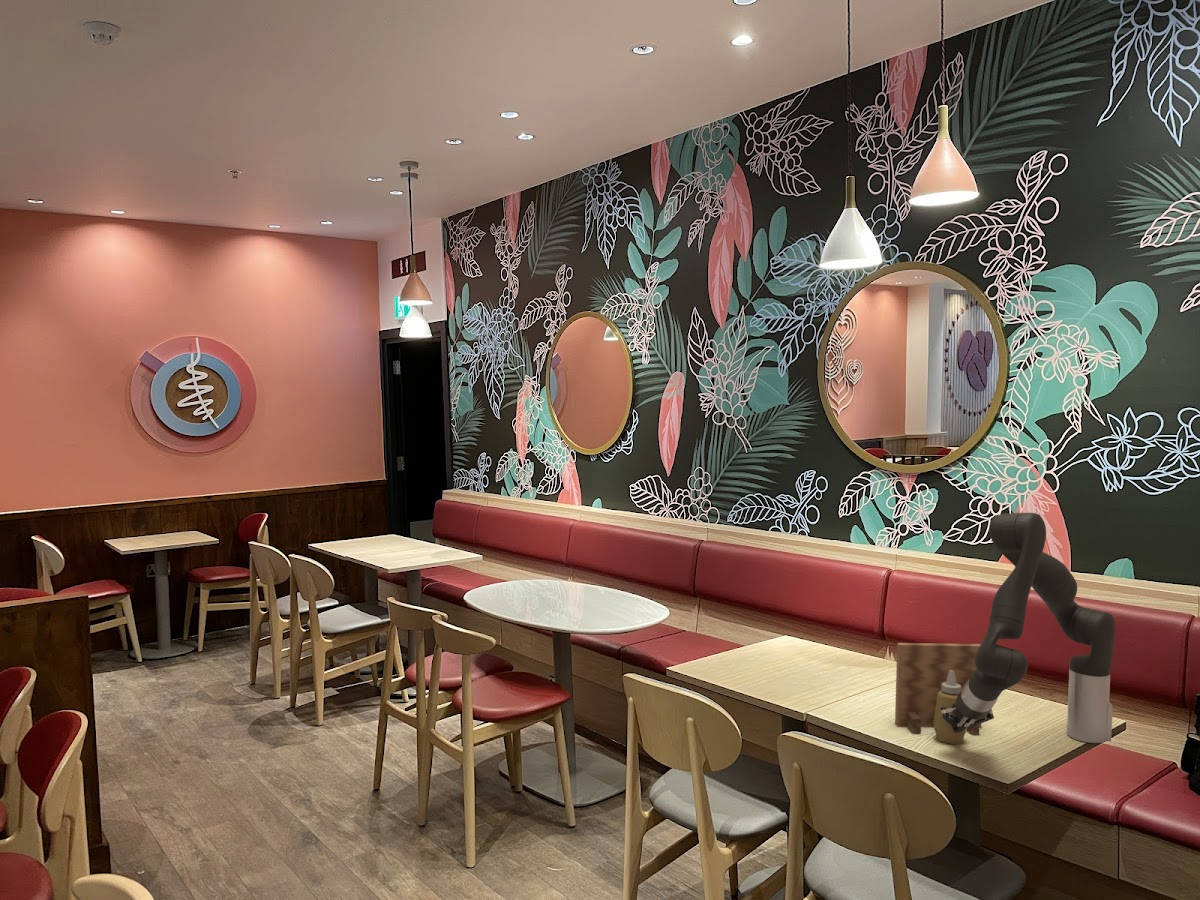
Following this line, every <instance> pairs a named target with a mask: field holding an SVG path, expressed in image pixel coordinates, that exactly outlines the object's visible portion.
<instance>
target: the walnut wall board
mask: <svg viewBox="0 0 1200 900" xmlns="http://www.w3.org/2000/svg"><path fill="white" fill-rule="evenodd" d="M896 644H897V645H896V671H895V673H896V675H895V676H896V679H895V707H894V708H895V710H894V711H895V712H894V714H895V715H894V725H895V726H896V727H899V728H905V727H906V728H907V729H908V731H910V732H911V734H912V735H921V732H922V728H934V726H933V722H934V715H935V708H936V701H937V694H938V692H939V691H941V686H942V683H944V682H946V681H947V677H948V674H949V670H953V671H954V672H955V678H956V683H957V684H959V685H961V690H962V688H963V687H964V685H965V683H966V682H967V681H968V680H969V679H970V678H971V676H972V675H973V673H974V671H975V670H976V669H977V668H976V665H975V655H976V653H977V651H978V649H979V647H980V645H981V644H980V643H938V642H937V643H936V642H935V643H929V642H927V643H925V642H920V643H919V642H915V643H914V642H910V643H909V642H897V643H896ZM976 721H977V720H976ZM980 729H982V723H981V724H978V725H976V726H972V724H970V725H969V726H968V727H967V730H966V732H968V734H969V735H971V736H980Z"/></svg>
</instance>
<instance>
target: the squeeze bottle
mask: <svg viewBox="0 0 1200 900" xmlns="http://www.w3.org/2000/svg"><path fill="white" fill-rule="evenodd" d="M960 691H961V685H959V684H957V683H956V678H955V672H954V671H953V670H949V674H948V677H947V681H946V682H944V683H942V686H941V691H939V692H938V694H937V701H936V708H935V715H934V722H933V726H934V727H933V728H934V733H935V734H936V738H937V740H939V741H940V742H942V743H946V744H951V745H953V744H955V745H956V744H957V745H958V744H960V743H962V742H963V739H964V738H965V734H966V733H967V727H966V728H965V730H963V731H962V732H955V731H954V730H953V728H952V725H950V724H949V723H948V722H947V721H946V720H945V719H944V718H943V717H942V713H941V709H940V708H941V707H945V708H951V706H952V705H953V704H955V703H956V699H957V696H958V694H959V693H960ZM952 714H953V713H952ZM953 716H955V715H954V714H953Z"/></svg>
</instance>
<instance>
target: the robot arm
mask: <svg viewBox="0 0 1200 900" xmlns="http://www.w3.org/2000/svg"><path fill="white" fill-rule="evenodd" d="M988 527H989V528H988V529H989V530H988V532H989V536H990V540H991V542H992V543H993V545H994V546H995V548H996V549H997V551H998V552H1000V553H1001V554H1002V555H1003V556H1004V557H1005V559H1007V560H1008V561H1009V562H1010V563H1011V564H1012V565H1014V568H1013V570H1012V572H1011V573H1010V574H1009V575H1008V577H1007V578H1006V579H1005V580H1004V581H1003V582H1002V584H1001V585H1000V587H999V588H998V589H997V591H996V593H995V594H994V597H993V599H992V600H993V601H992V604H991V605H992V606H991V610H990V616H989V617H990V618H989V622H988V623H989V624H988V626H987V630H986V631H985V632H986V633H985V634H984V637H983V640H982V641H981V645H980V647H979V649H978V651H977V653H976V655H975V665H976V668H977V669H976V670H975V671H974V673H973V675H972V676H971V678H970V679H969V680H968V681H967V682H966V683H965V685H964V687H963V688H962V690H961V691H960V693H959V694H958V696H957V699H956V703H955V704H953V705H952V706H951V708H945V707H941V708H940V709H941V713H942V717H943V718H944V719H945V720H946V721H947V722H948V723H949V724H950V725H952V728H953V730H954V731H955V732H962V731H963V730H965V728H966V727H968V726H969V725H970V724H972V726H976V725H978V724H981V725H982V724H984V723H985V722H988V721H991V720H993V719H994V718H995V717H994V716H995V715H994V712H993V708H994V706H995V704H996V703H997V701H998V699H999V697H1000V696H1001V694H1002V692H1003V691H1005V690H1008V689H1009V688H1011V687H1014V686H1015V685H1016V684H1018V683H1019V682H1020V681H1021V680H1023V679H1024V677H1025V676H1026V674H1027V671H1028V667H1029V664H1028V663H1029V662H1028V659H1027V657H1026V655H1025V654H1024V653H1023V652H1021V651H1020V650H1018V649H1015V648H1014V649H1013V648H1011V647H1007V646H1002V645H999V644H997V642H998V640H1018V639H1021V637H1022V636H1023V634H1024V633H1023V632H1024V627H1025V625H1024V624H1025V620H1026V612H1027V606H1028V600H1029V595H1030V592H1031V589H1033V590H1034V592H1036V594H1037V595H1038V596H1039V598H1040V599H1041V600H1042V601H1043V602H1044V604H1045V605H1046V607H1048V609H1049V611H1051V614H1053V616H1054V618H1055V619H1056V621H1057V623H1058V625H1059V627H1060V628H1061V631H1062V632H1063V633H1064V635H1065V636H1066V637H1067V638H1068V640H1070V641H1073V642H1075V643H1078V644H1082V645H1086V646H1090V652H1089V654H1082V655H1081V654H1080V655H1074V656H1072V657H1071V658H1070V659H1069V667H1068V669H1069V670H1068V695H1067V697H1068V698H1067V716H1066V717H1067V719H1066V720H1067V722H1066V734H1067V736H1068V735H1069V736H1068V737H1069V738H1071V737H1072V738H1071V739H1074V740H1076V741H1080V742H1084V743H1088V744H1089V743H1090V744H1103V743H1106V742H1111V741H1112V730H1113V729H1112V728H1113V727H1112V725H1113V708H1114V706H1113V704H1112V703H1110V688H1111V669H1112V665H1113V660H1114V649H1115V639H1116V631H1117V629H1116V627H1117V625H1116V621H1115V617H1114V616H1113V615H1112V614H1111V613H1110V612H1107V611H1103V610H1097V609H1092V608H1088V607H1084V606H1081V605H1079V604H1078V603H1076V601H1075V599H1076V596H1077V594H1078V583H1077V581H1076V578H1075V577H1074V576H1073V574H1072V573H1071V571H1070V570H1069V569H1068V567H1067V566H1066V565H1065V564H1064V563H1063V562H1062V561H1060V560H1059V559H1057V558H1055V557H1054V556H1052V555H1050V554H1049V553H1046V552H1044V548H1045V543H1046V539H1047V527H1046V524H1045V520H1044V519H1043V517H1042V516H1041V515H1040V514H1038V513H1036V512H1014V513H1013V512H1012V513H1002V514H998V515H995V516H994V517H993V518H992V519H991V520H990V522H989V525H988ZM952 713H953V714H954V715H955V716H953V714H952ZM976 720H977V721H976Z"/></svg>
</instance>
